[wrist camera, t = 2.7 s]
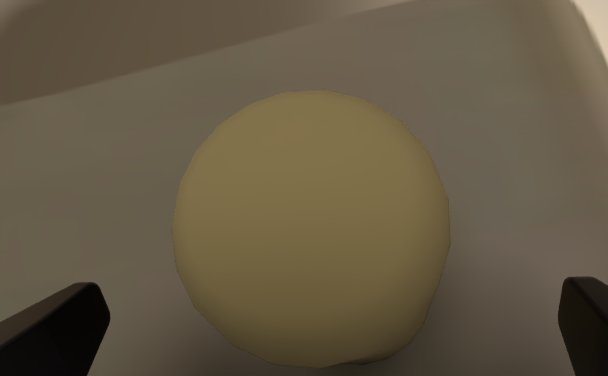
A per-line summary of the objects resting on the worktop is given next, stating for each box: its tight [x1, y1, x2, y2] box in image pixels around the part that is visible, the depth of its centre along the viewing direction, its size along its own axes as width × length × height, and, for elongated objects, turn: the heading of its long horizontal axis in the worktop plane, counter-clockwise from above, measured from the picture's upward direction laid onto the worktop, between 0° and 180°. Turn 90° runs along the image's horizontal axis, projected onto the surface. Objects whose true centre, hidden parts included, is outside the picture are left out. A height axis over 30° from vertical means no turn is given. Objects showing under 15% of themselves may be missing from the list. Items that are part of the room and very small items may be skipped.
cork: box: [171, 90, 450, 369], centre depth 12 cm, size 6×6×11 cm
